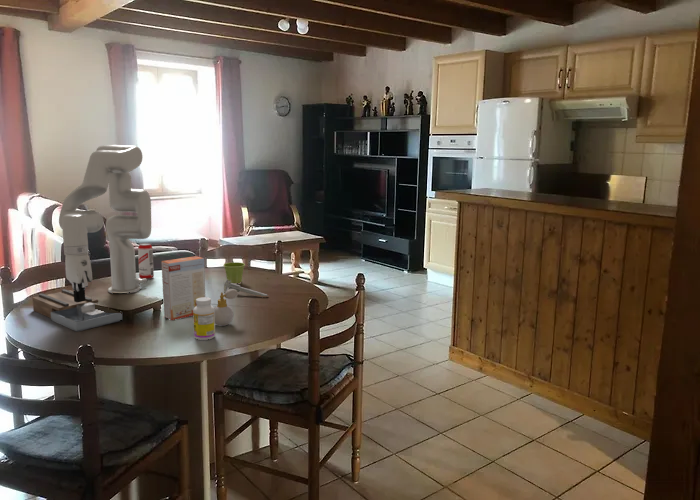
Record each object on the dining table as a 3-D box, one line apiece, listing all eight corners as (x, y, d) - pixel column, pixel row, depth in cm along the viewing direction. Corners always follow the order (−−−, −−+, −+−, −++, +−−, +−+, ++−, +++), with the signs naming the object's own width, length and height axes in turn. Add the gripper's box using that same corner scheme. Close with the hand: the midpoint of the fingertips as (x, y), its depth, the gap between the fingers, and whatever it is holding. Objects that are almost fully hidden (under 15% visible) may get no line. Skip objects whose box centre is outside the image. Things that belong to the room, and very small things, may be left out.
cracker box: (198, 309, 209) (196, 255, 205) (206, 313, 205) (205, 257, 201) (163, 317, 199) (160, 260, 196) (171, 321, 195) (168, 262, 191)
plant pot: (242, 286, 245) (242, 267, 243) (221, 285, 245) (221, 266, 243) (247, 281, 254) (246, 262, 252) (226, 280, 254) (226, 262, 252)
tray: (95, 310, 205) (95, 302, 205) (122, 320, 195) (122, 312, 194) (51, 320, 193) (50, 312, 192) (77, 331, 182) (76, 323, 182)
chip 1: (90, 302, 196) (95, 303, 195) (91, 316, 197) (96, 317, 196) (76, 305, 192) (81, 307, 191) (77, 319, 193) (82, 321, 191)
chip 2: (105, 311, 193) (105, 320, 193) (96, 309, 195) (97, 317, 196) (92, 315, 188) (92, 323, 189) (83, 312, 191) (84, 320, 192)
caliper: (223, 294, 232) (223, 279, 231) (225, 293, 233) (224, 279, 232) (269, 298, 227) (269, 283, 226) (270, 298, 228) (270, 283, 227)
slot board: (71, 302, 214) (70, 288, 213) (98, 313, 202) (97, 297, 201) (33, 310, 203) (32, 295, 202) (59, 322, 191) (58, 305, 190)
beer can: (149, 280, 251) (147, 245, 248) (136, 279, 252) (134, 244, 249) (156, 277, 257) (155, 243, 254) (144, 276, 258) (142, 242, 255)
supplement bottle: (196, 333, 183) (194, 296, 181) (216, 333, 184) (215, 296, 181) (192, 341, 176) (190, 301, 174) (213, 340, 177) (212, 301, 175)
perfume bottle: (207, 327, 190) (206, 293, 188) (221, 318, 199) (220, 286, 197) (227, 329, 188) (226, 295, 186) (240, 321, 197) (239, 288, 195)
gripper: (98, 251, 190) (101, 303, 194) (76, 245, 199) (79, 295, 203) (76, 254, 184) (79, 307, 188) (54, 248, 193) (58, 299, 197)
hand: (79, 301), depth 195 cm, fingers closed
